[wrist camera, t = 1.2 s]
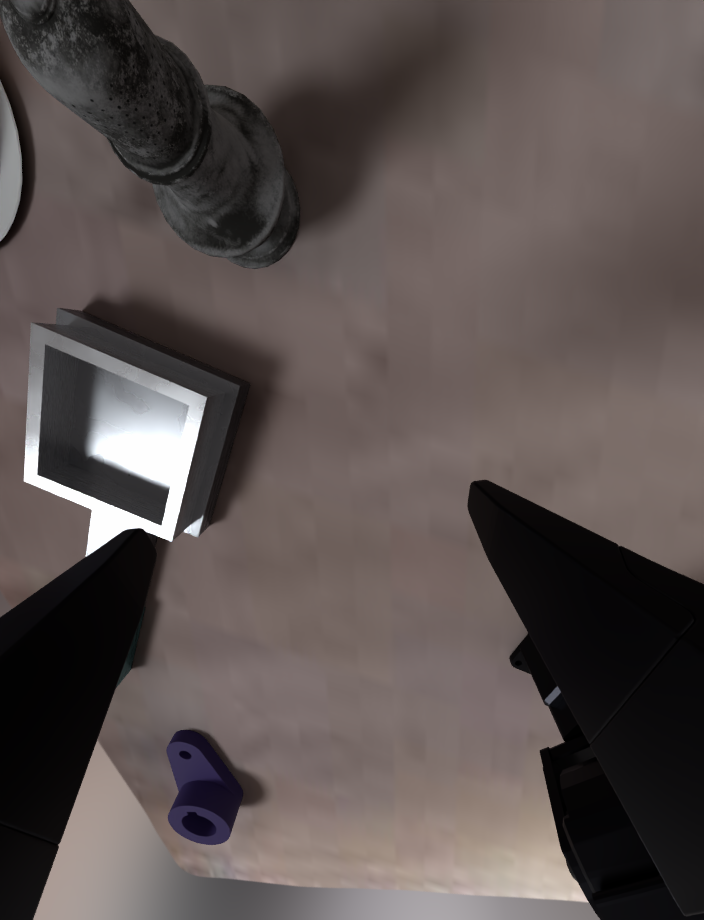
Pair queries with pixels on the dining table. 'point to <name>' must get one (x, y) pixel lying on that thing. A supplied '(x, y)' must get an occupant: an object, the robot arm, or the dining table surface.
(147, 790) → the dining table surface
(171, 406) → the square frying pan
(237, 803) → the lever
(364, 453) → the dining table surface
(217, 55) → the dining table surface
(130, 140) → the chess piece
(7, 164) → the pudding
